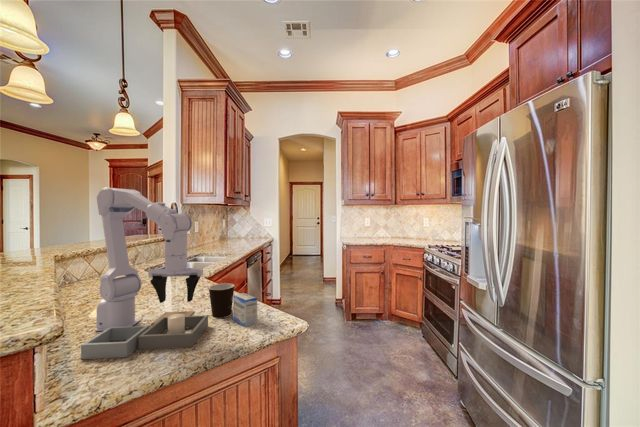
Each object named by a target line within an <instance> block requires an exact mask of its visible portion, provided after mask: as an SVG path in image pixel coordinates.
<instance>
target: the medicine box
mask: <svg viewBox="0 0 640 427" xmlns="http://www.w3.org/2000/svg"><path fill="white" fill-rule="evenodd" d="M232 321H233V322H234V323H236V324H238V325H240V326H243V327H245V328H248V327H250V326H254V325H256V324H258V297H255V296H253V295H252V294H251V295H250V294H248V293H246V292H243V293H238V294H233V303H232Z"/></svg>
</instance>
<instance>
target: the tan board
mask: <svg viewBox="0 0 640 427" xmlns="http://www.w3.org/2000/svg"><path fill="white" fill-rule="evenodd" d="M174 314H184V315H185V316H193V314H195V311H194V310H193V311H192V310H191V311H190V310H189V311H186V310H185V311H166V312H164V313H162V314H161V315H160V316H158V318H156V319H155V320H153V321H152V322H151V323H150V326H152V325H154V324H155V323H156V322H157V321H159V320H160V319H161V318H162V317H169V316H171V315H174Z"/></svg>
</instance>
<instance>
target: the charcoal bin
mask: <svg viewBox="0 0 640 427" xmlns="http://www.w3.org/2000/svg"><path fill="white" fill-rule="evenodd" d="M208 327H209V315H208V314H207V315H206V314H205V315H204V314H203V315H191V316H185V329H192V330H191V331H190V332H185V333H179V334H168V333H162V332H163V331H164V330H168V317H162V318H161V319H160V320H159V321H157V322H156V323H155V324H153V325H150V326H149V329H147V330H146V331H145V332H143V333H142V334H141V335H140V336H138V348H137V350H138V351H139V350H141V351H142V350H158V349H159V350H163V349H178V348H179V349H182V348H193V347H194V345H195V344H196V343H197V341H198V340H199V338H200V337H201V336H202V335H203V333H205V330H207V328H208ZM160 332H161V333H160ZM159 333H160V334H159Z"/></svg>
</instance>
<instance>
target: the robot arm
mask: <svg viewBox="0 0 640 427" xmlns="http://www.w3.org/2000/svg"><path fill="white" fill-rule="evenodd" d="M96 203H97V209H98V214H99V215H100V216H101V220H102V226H103V227H102V228H103V234H104V240H105V241H104V242H105V248H106V255H107V261H108V262H107V263H108V270H107V271H106V272H105V273H103V274H102V275H101V276H100V277H99V279H100V284H99V294H100V297H101V298H102V299H101V300H100V301H99V302H98V304H97V306H96V328H95V329H94V332H103V331H105V330H106V329H108V328H109V327H126V326H136V324H138V323H140V321H142V318H136V296H138V293H139V292H140V291H141V289H142V284H143V283H142V279H141V278H140V276H139V272H138V270H137V269H136V268H134V267H133V266H131V265H130V262H129V253H128V247H127V242H126V241H127V240H126V235H125V227H124V222H123V221H124V220H123V219H124V218H125V217H126V216H128V215H130V214H131V213H132V212H133V211H134V210H135V209H138V210H140V211H141V212H144V213H145V217H146V218H147V219H148V220H150V221H151V222H153V223H155V224H156V225H158V226H159V227H160V228H159V229H160V230H161V232H162V238H163V240H164V268H159V269H150V270H148V275H147V276H148V277H147V278H148V279H149V278H151V279H150V282H149V283H151V285H152V287H153V288H154V289H155V292H156V295H157V298H158V301H159V304H163V303H164V302H166V298H167V297H166V296H167V294H166V293H167V291H166V290H167V280H168V278H169V277H171V278H172V277H187V278H185V283H186V290H187V292H186V298H187V302H189V303H190V302H192V301H193V299H194V295H195V290H196V287H197V285H198V283H199V281H200V279H201V277H203V276H204V268H195V267H194V268H193V267H188V232H190V230H191V229H192V226H193V225H192V224H193V222H192V218H191V216H190V215H189V214H188V213H186V212H181V213H179V212H177V210H176V208H175V209H174V208H170V207H168V206H167V205H166V203H165V202H163V201H158V202H152V201H151V200H149V199H148V198H147V197H145V196H144V195H143V194H142V193H141V191H137V190H136V189H129V188H128V189H126V188H117V187H116V188H115V187H108V186H107V187H102V188H101V189H100V190H99V192H98V193H97V196H96Z"/></svg>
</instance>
